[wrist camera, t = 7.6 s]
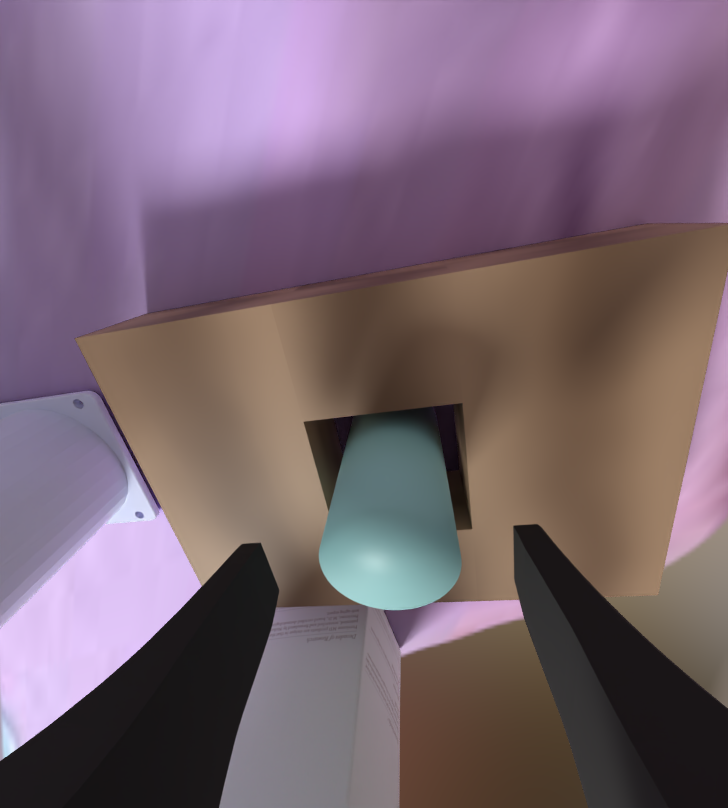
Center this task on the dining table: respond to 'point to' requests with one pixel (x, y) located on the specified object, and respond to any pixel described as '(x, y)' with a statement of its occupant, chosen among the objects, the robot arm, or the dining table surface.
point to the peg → (392, 514)
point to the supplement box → (321, 714)
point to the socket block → (436, 402)
